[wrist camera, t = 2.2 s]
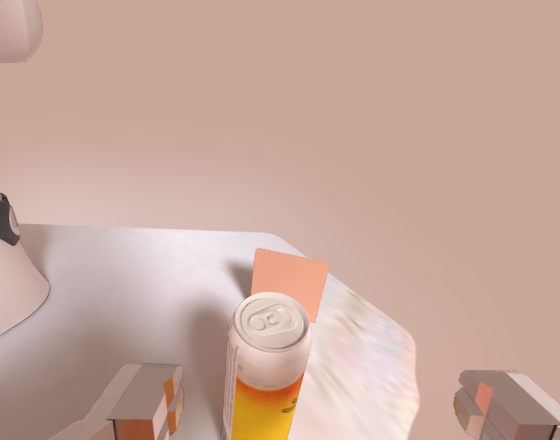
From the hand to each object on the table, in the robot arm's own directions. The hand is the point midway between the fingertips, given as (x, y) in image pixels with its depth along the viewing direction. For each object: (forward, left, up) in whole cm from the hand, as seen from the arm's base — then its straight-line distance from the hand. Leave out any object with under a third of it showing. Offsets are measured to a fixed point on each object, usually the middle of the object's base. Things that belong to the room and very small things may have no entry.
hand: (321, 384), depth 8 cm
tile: (+17, +18, -22) cm, 33 cm away
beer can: (+5, +7, -22) cm, 23 cm away
